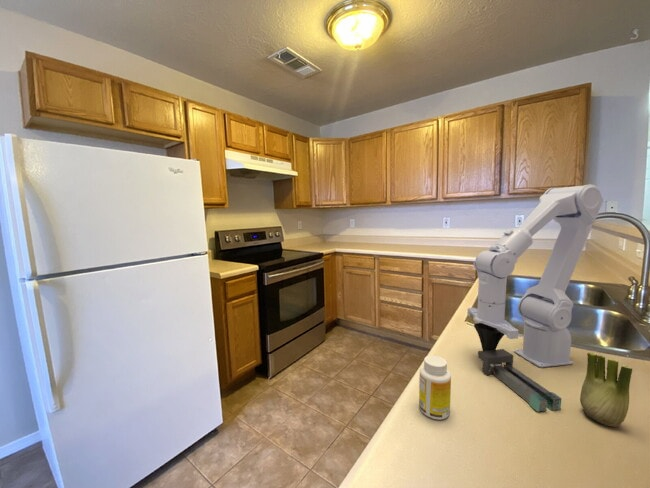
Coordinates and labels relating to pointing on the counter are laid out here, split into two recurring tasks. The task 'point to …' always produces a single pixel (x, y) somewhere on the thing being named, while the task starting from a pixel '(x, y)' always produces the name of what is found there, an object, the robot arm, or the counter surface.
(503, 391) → the counter surface
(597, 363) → the fennel bulb
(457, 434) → the counter surface
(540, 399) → the bar
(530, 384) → the tongs base
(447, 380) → the supplement bottle
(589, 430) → the counter surface
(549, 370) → the counter surface
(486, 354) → the grey stepped block
